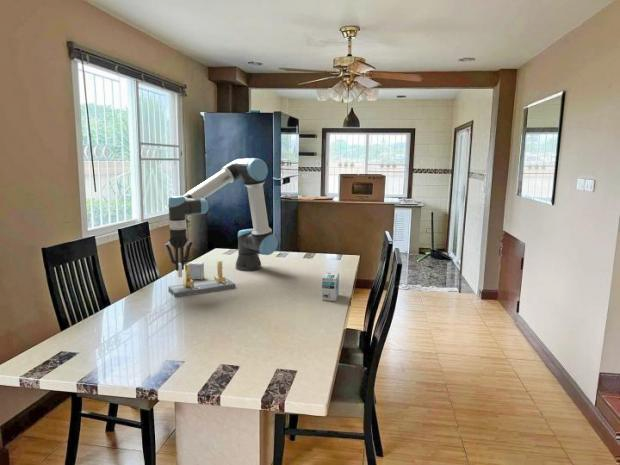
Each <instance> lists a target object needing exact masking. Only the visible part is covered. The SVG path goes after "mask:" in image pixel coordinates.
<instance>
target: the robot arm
mask: <svg viewBox="0 0 620 465" xmlns="http://www.w3.org/2000/svg"><path fill="white" fill-rule="evenodd" d="M268 173H269V169H268V166H267V163H266V162H265V161H264V160H263V159H261V158H256V157H240V158H237V159H234V160H232V161H230V162H229V163H227V164H225V165H224V166H223V167H221V169H220V171H218V172H217V173H215V174H214V175H212V176H211V177H209V178H207V179H206V180H204V181H202V182H201V183H200V184H198V185H197V186H195V187H193V188H192V189H190V190H189V191H187V192H186V193H184V194H183V195H172V196H169V198H168V203H167V204H168V206H167V207H168V216H169V218H168V219H169V224H168V225H169V228H170V229H169V240H168V242H167V243H164V247H165V249H166V250H167V253H168V256H169V259H170V260H169V261H170V262H171V263H172V264H174V269H175V271H177V277H178V278H183V270H184V271H185V264H186V263H187V262H188V260H189V255H190V251H191V247H192V245H193V242H192V241H189V240H188V238H187V229H186V228H187V223H186V222H187V221H186V220H187V217H186V216H193V215H202V214H207V212H209V202H208V200H207V199H206V198H208V197H210V195H211V196H212V194H214V193H215V192H217V191H218V190H220V189H221V188H223V187H225V185H228V184H232V183H233V182H235V181H239V180H242V181H243V186H244V187H246V190H247V196H248V202H249V209H250V214H251V222H252V227H253V228H246V229H241V230H239V231H238V232H237V243H238V244H237V248H238V250H237V252H238V254H237V258H236V261H235V269H236V270H238V271H243V272H244V271H246V272H247V271H248V272H249V271H250V272H251V271H257V270H260V269H261V268H262V262H261V259H260V255H259V254H261V255H264V256H269V255H273V253H275V251H276V250H277V249H278V248H277V247H278V244H279V241H278V238H277V237H276V236H275V234H273V229H272V228H271V227H270V226H269V220H268V213H267V207H266V200H265V193H264V184H265V183H266V178H267V176H268ZM171 246H172V247H173V250H172V248H171ZM185 246H186V247H185ZM184 248H185V249H184ZM184 250H185V251H184ZM172 251H174V252H172ZM173 253H174V255H173Z"/></svg>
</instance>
